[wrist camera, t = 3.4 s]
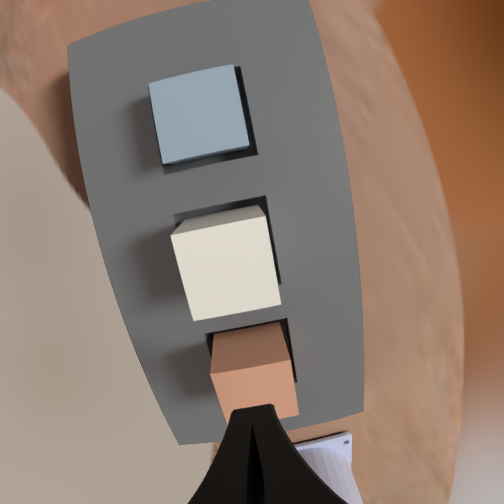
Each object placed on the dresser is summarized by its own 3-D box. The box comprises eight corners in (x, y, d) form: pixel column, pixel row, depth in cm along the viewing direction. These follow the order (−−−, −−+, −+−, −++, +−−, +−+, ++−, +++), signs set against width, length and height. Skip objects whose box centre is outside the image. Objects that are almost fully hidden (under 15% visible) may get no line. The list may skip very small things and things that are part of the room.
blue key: (245, 150, 15) (249, 145, 12) (178, 164, 15) (162, 163, 12) (233, 85, 14) (233, 64, 11) (166, 100, 14) (148, 83, 11)
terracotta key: (288, 373, 17) (299, 414, 14) (228, 384, 17) (228, 427, 14) (279, 321, 16) (290, 359, 13) (213, 334, 16) (210, 374, 13)
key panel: (349, 384, 21) (363, 411, 18) (183, 415, 20) (179, 444, 18) (294, 15, 14) (305, -9, 11) (89, 60, 14) (67, 45, 11)
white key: (270, 274, 15) (281, 304, 12) (201, 288, 15) (193, 321, 12) (257, 204, 14) (265, 216, 11) (184, 219, 14) (170, 235, 11)
